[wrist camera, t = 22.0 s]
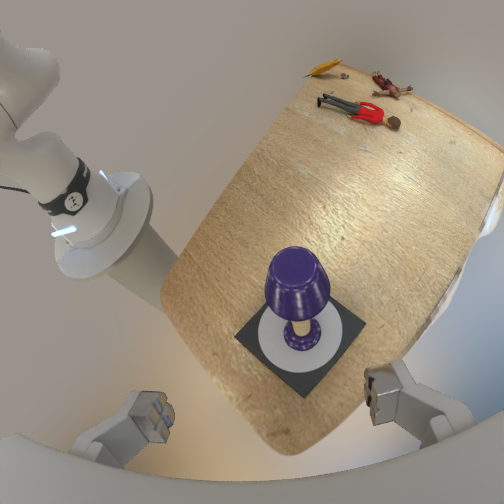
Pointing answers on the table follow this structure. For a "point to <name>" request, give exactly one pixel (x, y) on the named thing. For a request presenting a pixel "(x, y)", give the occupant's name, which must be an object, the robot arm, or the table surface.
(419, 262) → the table surface
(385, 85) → the figurine
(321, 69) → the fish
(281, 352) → the kitchen scale
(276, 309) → the toy lamp
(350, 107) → the person figure
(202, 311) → the table surface
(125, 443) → the robot arm
